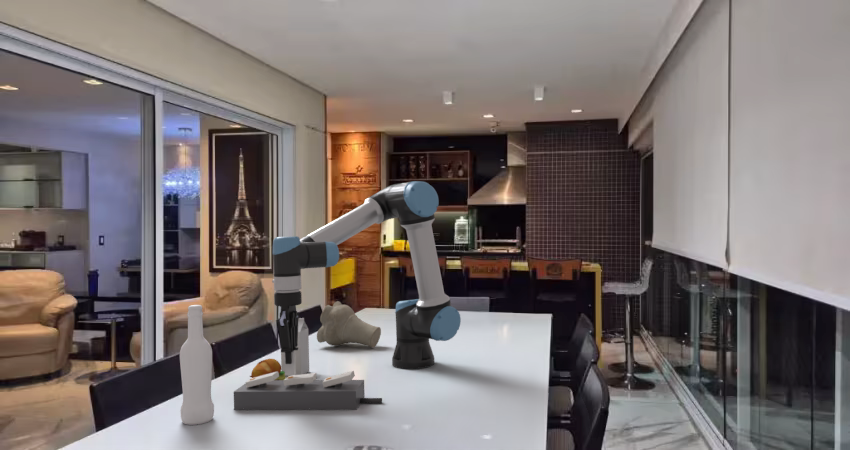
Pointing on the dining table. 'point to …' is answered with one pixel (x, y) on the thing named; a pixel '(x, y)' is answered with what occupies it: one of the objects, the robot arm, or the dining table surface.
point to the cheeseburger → (268, 369)
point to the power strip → (302, 396)
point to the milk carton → (300, 350)
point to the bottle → (196, 372)
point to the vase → (346, 327)
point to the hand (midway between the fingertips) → (290, 374)
